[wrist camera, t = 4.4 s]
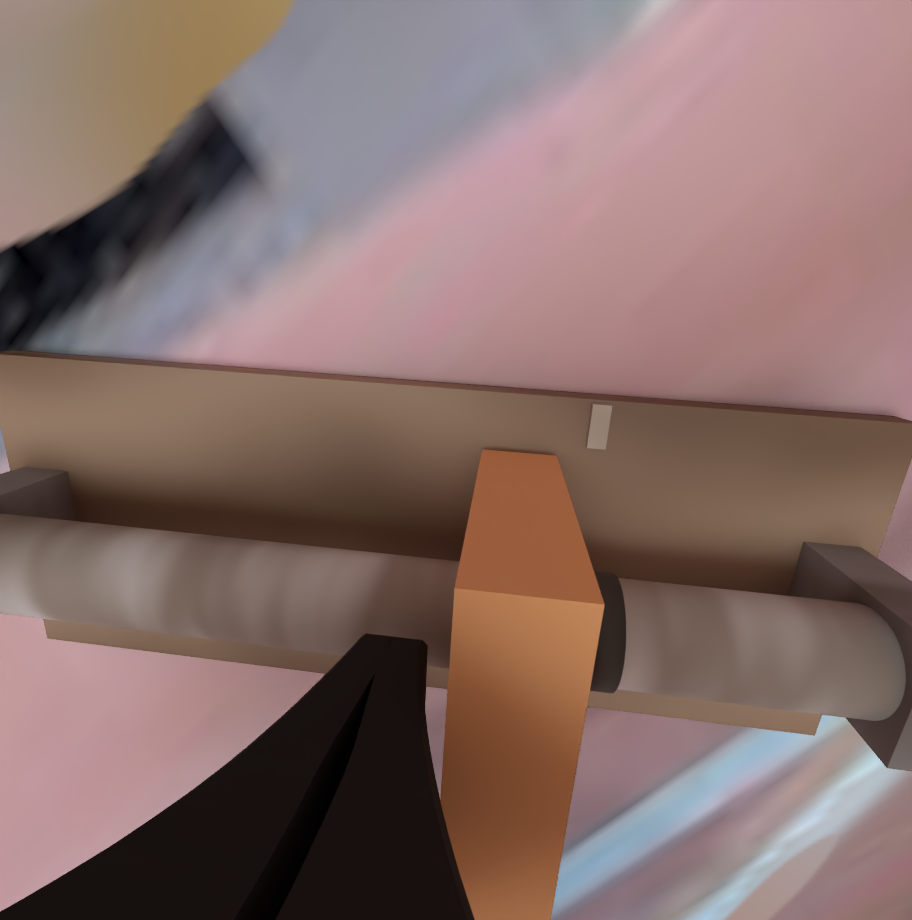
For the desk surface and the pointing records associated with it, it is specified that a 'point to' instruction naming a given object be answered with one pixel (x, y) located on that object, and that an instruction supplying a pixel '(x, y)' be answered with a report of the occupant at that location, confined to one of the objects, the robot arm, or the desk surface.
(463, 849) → the orange rod slider
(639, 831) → the desk surface
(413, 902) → the robot arm
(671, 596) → the pipe stand
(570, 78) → the desk surface
